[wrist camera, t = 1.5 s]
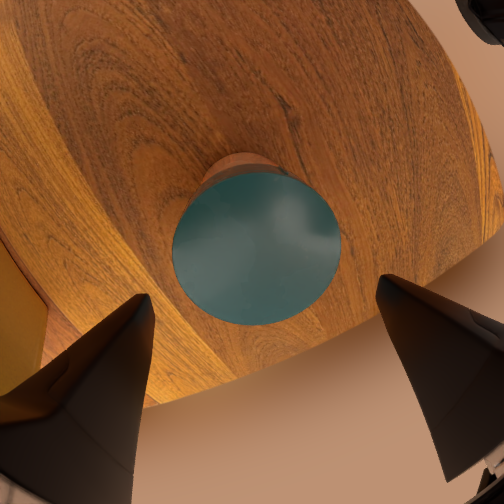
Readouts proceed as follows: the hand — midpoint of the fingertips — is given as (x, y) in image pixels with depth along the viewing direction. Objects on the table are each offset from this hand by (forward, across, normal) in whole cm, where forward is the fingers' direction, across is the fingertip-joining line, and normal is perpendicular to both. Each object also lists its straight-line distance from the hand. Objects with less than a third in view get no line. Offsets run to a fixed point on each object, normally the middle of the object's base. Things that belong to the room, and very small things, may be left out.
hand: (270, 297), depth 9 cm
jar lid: (+3, 0, 0) cm, 3 cm away
